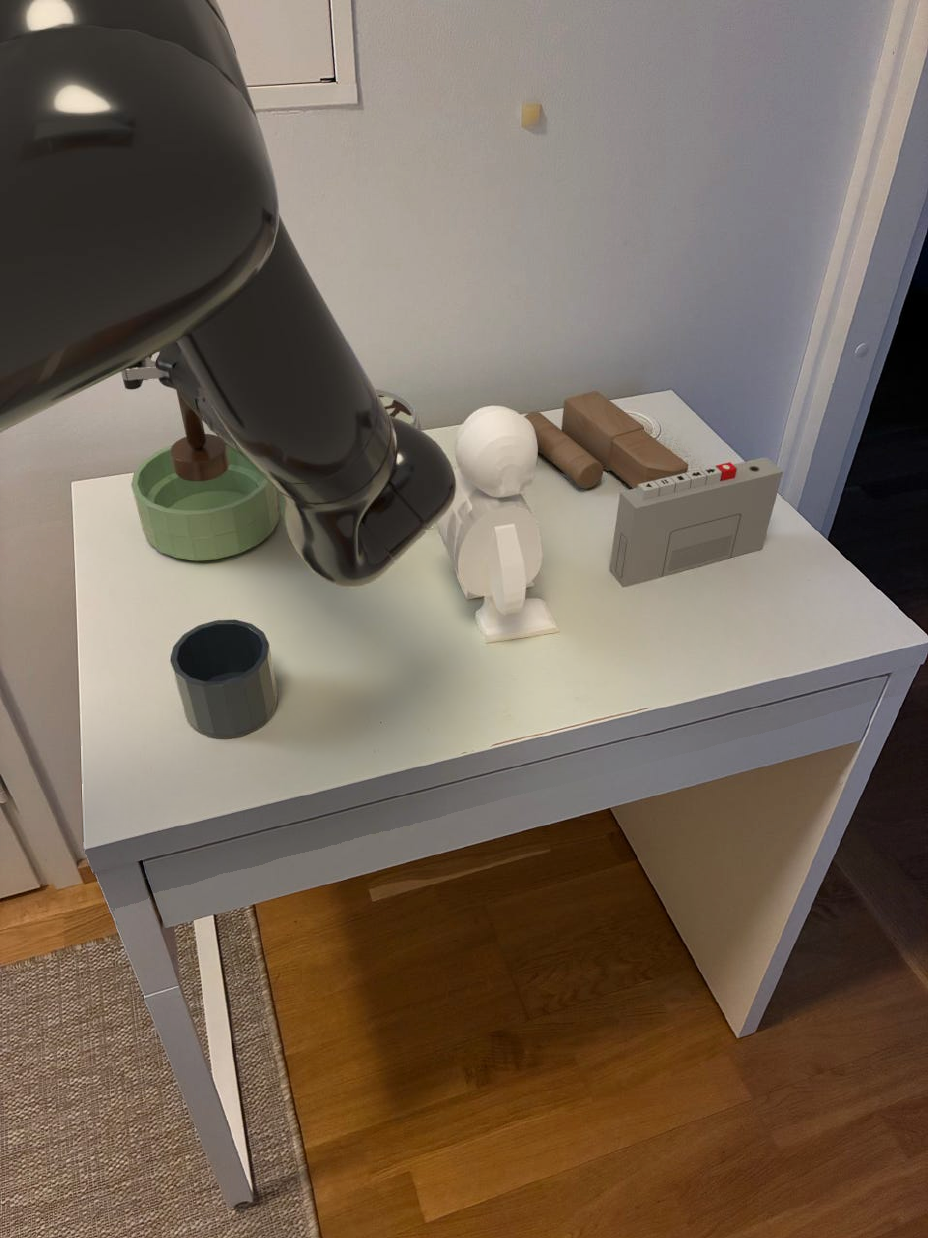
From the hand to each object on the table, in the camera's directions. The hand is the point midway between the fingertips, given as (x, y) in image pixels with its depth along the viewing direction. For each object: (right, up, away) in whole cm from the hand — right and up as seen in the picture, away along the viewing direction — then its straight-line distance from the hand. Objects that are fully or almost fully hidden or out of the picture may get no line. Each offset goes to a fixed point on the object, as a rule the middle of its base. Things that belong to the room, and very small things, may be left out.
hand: (157, 308), depth 78 cm
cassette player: (+47, -20, +15) cm, 53 cm away
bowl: (0, -16, +18) cm, 24 cm away
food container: (+18, -13, +22) cm, 31 cm away
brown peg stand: (+2, -12, +7) cm, 14 cm away
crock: (+6, -32, 0) cm, 33 cm away
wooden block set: (+37, -10, +25) cm, 46 cm away
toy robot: (+28, -24, +10) cm, 38 cm away
